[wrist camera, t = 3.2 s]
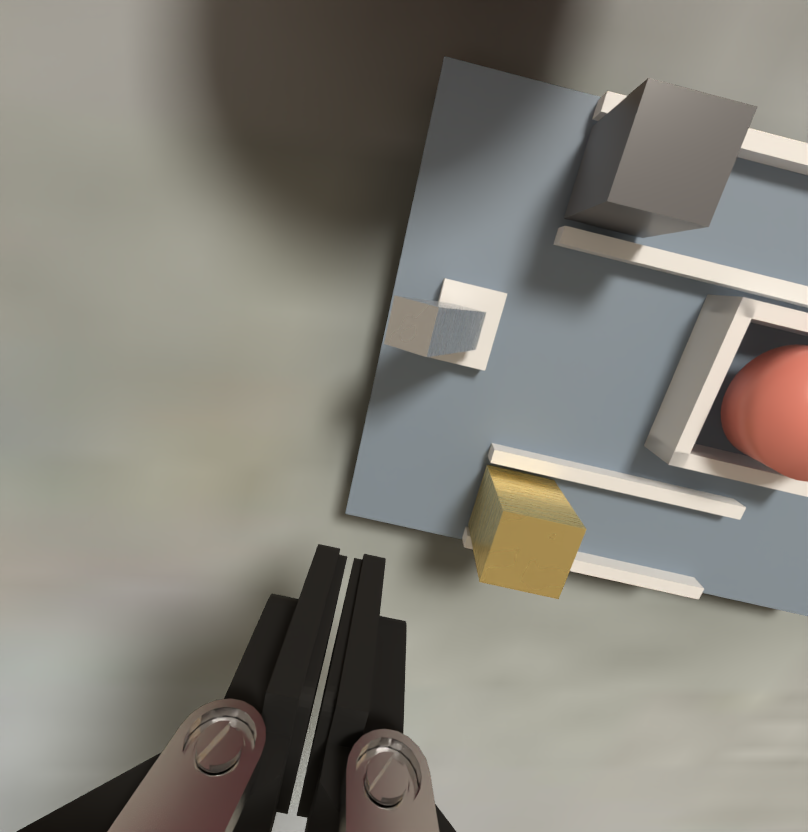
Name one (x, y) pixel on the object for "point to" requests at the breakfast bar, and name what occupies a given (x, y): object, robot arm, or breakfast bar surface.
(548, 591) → the slider brass
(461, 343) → the toggle
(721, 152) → the slider gray
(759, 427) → the button
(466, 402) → the panel
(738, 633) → the breakfast bar surface
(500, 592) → the breakfast bar surface
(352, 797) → the robot arm
